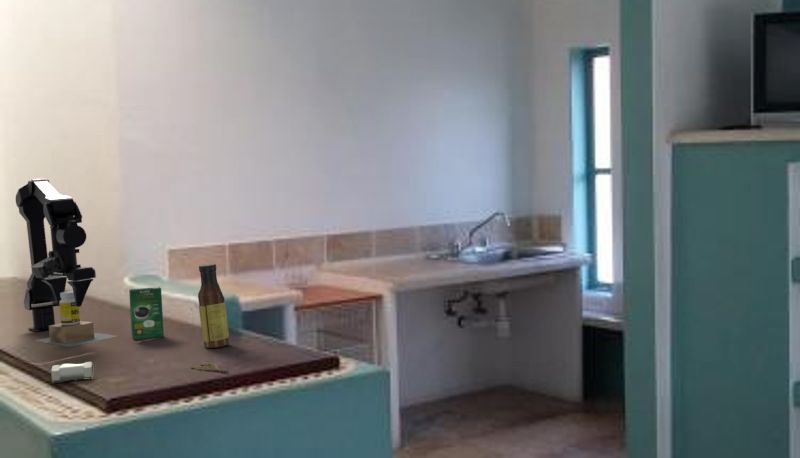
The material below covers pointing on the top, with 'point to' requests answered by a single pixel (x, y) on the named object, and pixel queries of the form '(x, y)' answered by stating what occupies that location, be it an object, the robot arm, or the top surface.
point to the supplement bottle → (69, 309)
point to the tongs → (210, 368)
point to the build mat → (96, 338)
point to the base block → (71, 332)
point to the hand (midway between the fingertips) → (69, 305)
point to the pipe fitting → (72, 372)
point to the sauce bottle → (212, 309)
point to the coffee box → (146, 313)
